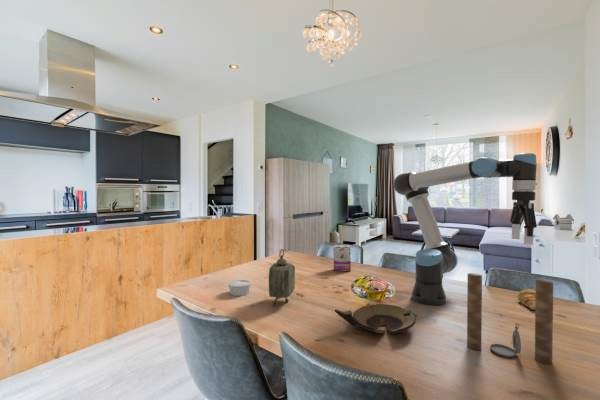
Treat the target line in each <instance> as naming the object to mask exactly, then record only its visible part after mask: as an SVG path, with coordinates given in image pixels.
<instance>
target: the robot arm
mask: <svg viewBox="0 0 600 400" xmlns="http://www.w3.org/2000/svg"><path fill="white" fill-rule="evenodd" d="M537 165H538V164H537V155H536V154H535V153H533V152H527V153H526V152H525V153H523V152H522V153H516V154H513V157H512V159H511V158H510V159H499V160H498V159H493V158H491V157H487V156H484V157H478V158H477V159H475V160H469V161H466V162H461V163H457V164H453V165H447V166H444V167H439V168H434V169H430V170H429V169H428V170H425V171H421V172H415V171H411V172H408V173H407V172H405V173H400V174H398V175H397V176H396V177H395V178H394V180H393V189H394V191H395V192H396V193H397V194H399V195H401V196H405V198H406V200H407V202H409V203H411V207H412V209H413V212H414V214H415V218H416V220H417V223H418V226H419V229H420V231H421V235H422V237H423V240H424V243H425V245H426V246H425V248H424V249H419V250H417V252H416V254H415V258H414V260H415V282H414V285H413V287H412V290H411V298H412V300H413V301H415V302H418V303H420V304H424V305H429V306H443V305H445V304H446V303H447V295H446V292H445V290H444V287H443V275H444V274H447V273H449V272H452V271H453V270H454V269H455V268H456V267H457V265H458V256H457V254H456V252H455V251H454V250H452V249H451V248H450V246H449V243H448V242H446V241H444V238H443V235H442V233H441V231H440V228H439V225H438V222H437V220H436V218H435V215H434V212H433V210H432V207H431V205H430V202H429V199H428V198H429V195H430V193H429V187H434V186H438V185H444V184H449V183H457V182H460V181H461V182H462V181H467V180H472V179H479V178H484V179H485V178H489V179H492V178H512V183H511V185H512V186H511V190H512V191H511V200H512V201H513V206H512V210H511V215H510V220H509V222H511V239H512V240H520V237H521V235H520V233H521V224H522V223H521V219H523V222H524V226H523V228H524V230H523V231H524V234H523V244H524V245H530V246H533V245H534V231H535V230H534V229H535V228H537V227H538V225H537V218H536V213H535V204H534V202H530V201H535V200H536V192H535V191H536V186H537V185H538V184H537V182H536V181H537V180H536V179H537V167H538V166H537Z"/></svg>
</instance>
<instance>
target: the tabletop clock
mask: <svg viewBox="0 0 600 400" xmlns="http://www.w3.org/2000/svg"><path fill="white" fill-rule="evenodd" d="M278 255H279V256H278V257H279V259H277V260H276V262H273V264H272V265H270V267H269V269H268V295H269V297H270V298H275V299H274V301H273V302H272V303H271V306H273V307H274V306H276V302H277V300H278V299H279V298H282V299H285V300H284V302H285V303H288V302H289V299H288V297H290V296H292V294H293V293H294V292H295V291H294V290H295V287H296V284H295V283H296V272H295V271H296V267H295V266H296V265H295V264H292V263H291V262H288V261H287V260H286V259H285V258H284V256H285V250H284V248H281V249H280V251H279V253H278Z"/></svg>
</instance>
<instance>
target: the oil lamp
mask: <svg viewBox="0 0 600 400" xmlns="http://www.w3.org/2000/svg"><path fill="white" fill-rule="evenodd" d="M334 312H335V313H336V314H337V315H338V316H339V317H340V318H342V319H343V320H344V321H346V322H347V323H348V324H349V325H351V326H353V327H360V328H363V329H364V330H366V331H367V330H368V331H371V332H374V333H379V334H385V333H386V332H388V333H391V334H395V333H396V334H397V333H401V332H404V331H407V330H409V329H411V328H412V327H413V326H414V325H415V324H416V322H417V317H418V314H415V313H414V312H413V311H412V310H410V309H406V308H404V307H401V306H398V305H392V304H386V303H385V304H384V303H376V304H368V305H364V306H361V307H359V308H357V309H355V311H353V312H352V310H351V309H349V310H345V311H342V310H339V309H334ZM385 326H386V328H385V329H386V330H385V329H378V328H379V327H385Z"/></svg>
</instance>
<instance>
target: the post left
mask: <svg viewBox="0 0 600 400" xmlns="http://www.w3.org/2000/svg"><path fill="white" fill-rule="evenodd" d="M482 275H483V274H478V273H472V272H471V273H470V272H469V273H467V295H466V296H467V298H466V299H467V304H466V305H467V306H466V307H467V310H466V311H467V312H466V313H467V316H466V322H467V323H466V325H467V326H466V346H467V348H468V349H471V351H481V350H482V333H483V332H482V328H483V327H482V321H483V319H482V317H483V316H482V315H483V314H482V312H483V308H482V307H483V306H482V305H483V276H482Z"/></svg>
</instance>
